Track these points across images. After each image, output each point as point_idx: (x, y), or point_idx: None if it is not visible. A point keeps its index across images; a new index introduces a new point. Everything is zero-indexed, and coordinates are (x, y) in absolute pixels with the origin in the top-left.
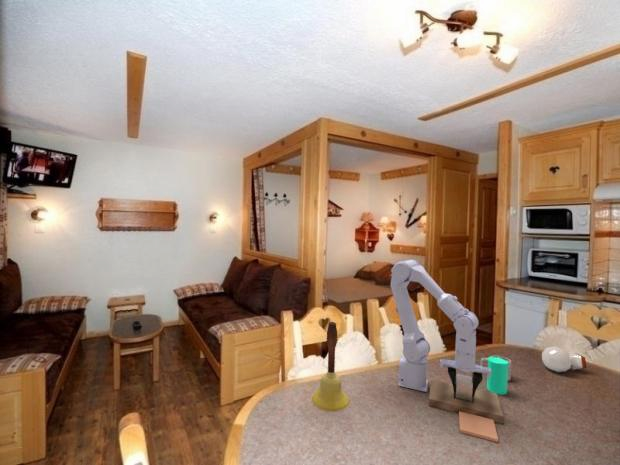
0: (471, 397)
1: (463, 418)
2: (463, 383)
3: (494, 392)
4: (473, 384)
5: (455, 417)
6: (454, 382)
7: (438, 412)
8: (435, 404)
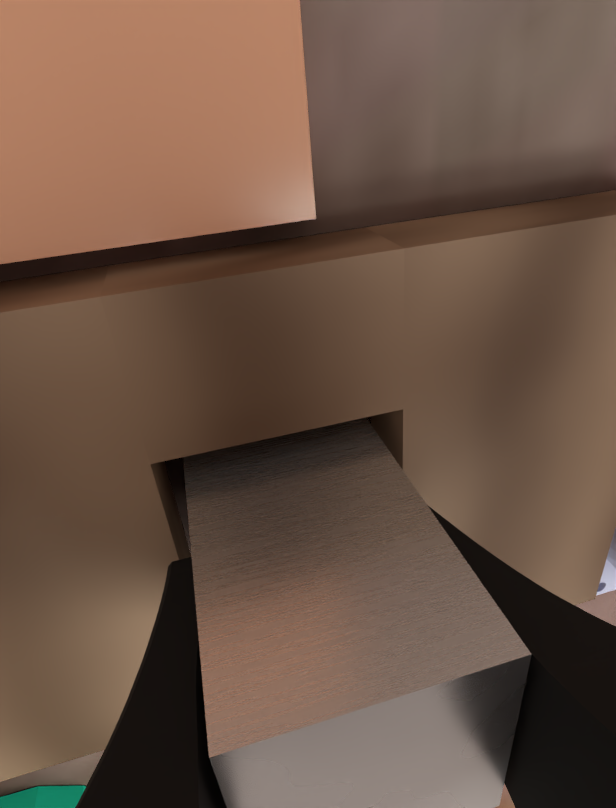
0: (197, 516)
1: (240, 25)
2: (381, 653)
3: (41, 792)
4: (192, 740)
5: (342, 85)
6: (511, 602)
7: (543, 85)
8: (589, 201)
